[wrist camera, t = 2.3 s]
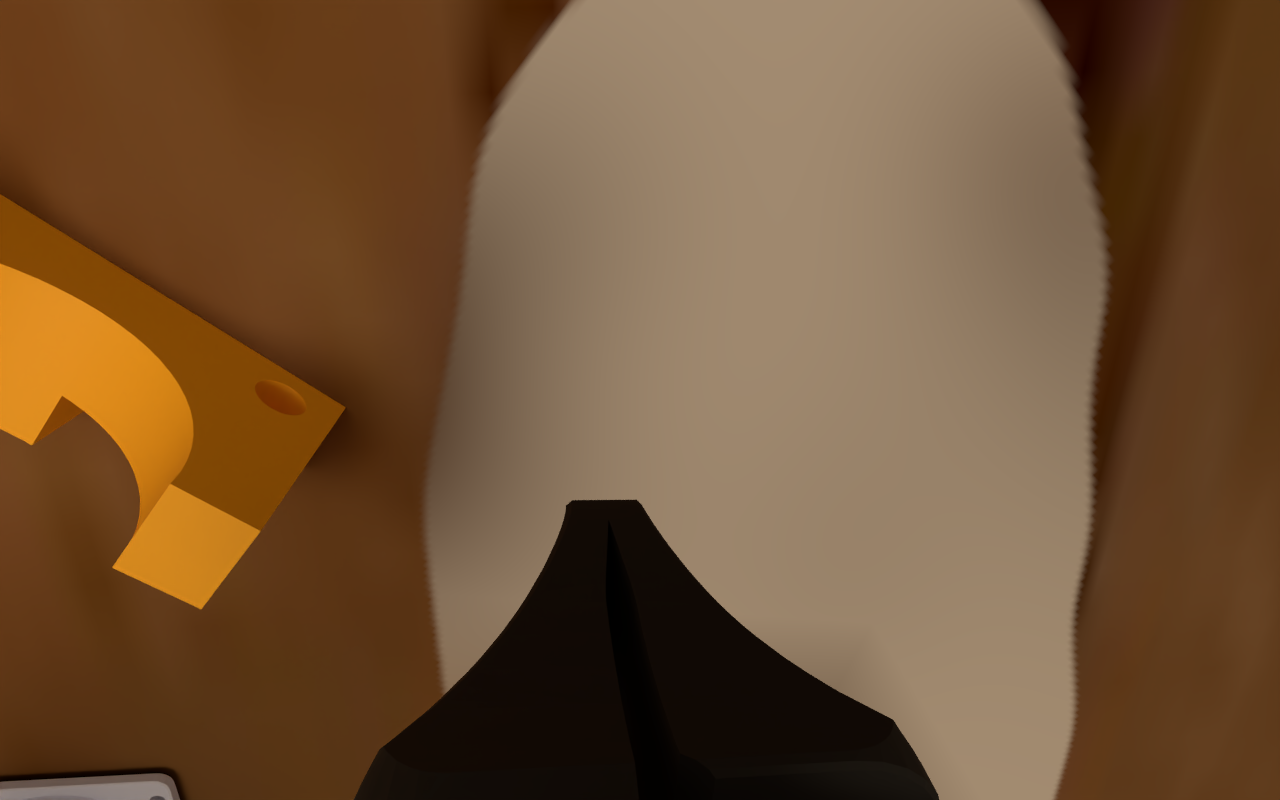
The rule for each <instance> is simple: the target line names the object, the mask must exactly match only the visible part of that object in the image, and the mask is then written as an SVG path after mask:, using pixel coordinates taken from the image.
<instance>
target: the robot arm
mask: <svg viewBox="0 0 1280 800" xmlns="http://www.w3.org/2000/svg"><path fill="white" fill-rule="evenodd" d="M0 800H180V798H179V795H178V792H177V789H176V786H175V783H174V781H173V779H172V778H171V777H170V776H168V775H166V774H162V773H152V774H134V775H115V776H96V777H78V778H59V779H41V780H22V781H3V782H0ZM354 800H939V797H938V794H937V792H936V790H935V788H934V786H933V785H932V783H931V781H930V779H929V777H928V775H927V773H926V771H925V769H924V768H923V766H922V764H921V762H920V761H919V759H918V757H917V756H916V754H915V752H914V751H913V749H912V748H911V746H910V745H909V743H908V742H907V740H906V739H905V737H904V736H903V734H902V733H901V731H900V730H899V728H898V727H897V725H896V724H895V722H894V720H892V719H891V718H889V717H887V716H885V715H883V714H881V713H879V712H877V711H875V710H873V709H871V708H869V707H867V706H865V705H863V704H862V703H860V702H858V701H856V700H854V699H852V698H850V697H848V696H846V695H844V694H842V693H840V692H838V691H837V690H835V689H833V688H832V687H830V686H828V685H826V684H825V683H823V682H822V681H820V680H818V679H817V678H815V677H814V676H812V675H810V674H809V673H807V672H805V671H804V670H802V669H801V668H799V667H798V666H796V665H795V664H793V663H792V662H790V661H789V660H787V659H786V658H784V657H783V656H781V655H780V654H779V653H777V652H776V651H775V650H774V649H772V648H771V647H769V646H768V645H767V644H766V643H764V642H763V641H761V640H760V639H759V638H757V637H756V636H755V635H754V634H752V633H751V632H750V631H749V630H748V629H746V628H745V627H744V626H743V625H742V624H740V623H739V622H738V621H737V620H736V619H735V618H734V617H733V616H731V615H730V614H729V613H728V612H727V611H726V610H725V609H724V608H723V607H722V606H721V605H720V604H719V603H718V602H717V601H716V600H715V599H714V598H713V597H712V596H711V595H710V594H709V593H708V592H707V591H706V590H705V589H704V587H703V586H702V585H701V584H700V583H699V582H698V581H697V580H696V579H695V577H694V576H693V575H692V574H691V573H690V572H689V570H688V569H687V568H686V567H685V565H683V563H682V562H681V561H680V559H679V558H678V557H677V555H676V554H675V553H674V552H673V550H672V549H671V548H670V547H669V545H668V544H667V542H666V541H665V540H664V538H663V537H662V535H661V534H660V533H659V531H658V530H657V528H656V527H655V526H654V524H653V522H652V521H651V519H650V518H649V516H648V515H647V513H646V511H645V510H644V508H643V507H642V505H641V504H640V503H639V502H638V501H637V500H575V501H574V500H573V501H571V502H570V503H569V504H568V505H566V513H565V517H564V521H563V524H562V527H561V530H560V532H559V535H558V538H557V540H556V543H555V545H554V547H553V549H552V551H551V554H550V555H549V558H548V560H547V562H546V564H545V566H544V568H543V570H542V572H541V573H540V575H539V577H538V578H537V580H536V582H535V583H534V585H533V587H532V589H531V590H530V592H529V594H528V595H527V597H526V599H525V600H524V602H523V603H522V605H521V606H520V608H519V609H518V611H517V612H516V614H515V615H514V616H513V618H512V619H511V621H510V622H509V623H508V625H507V626H506V627H505V629H504V630H503V631H502V633H501V634H500V635H499V636H498V638H497V639H496V640H495V641H494V642H493V644H492V645H491V646H490V647H489V648H488V650H487V651H486V652H485V653H484V655H483V656H482V657H481V658H480V659H479V660H478V662H476V664H475V665H474V666H473V667H472V668H471V669H470V670H469V671H468V672H467V673H466V674H465V675H464V676H463V677H462V678H461V679H460V680H459V681H458V682H457V683H456V684H455V685H454V686H453V687H452V688H451V689H450V690H449V691H448V692H447V693H446V694H445V695H444V696H443V697H442V698H441V699H440V700H439V701H438V702H437V703H435V704H434V705H433V706H432V707H431V708H430V709H429V710H428V711H427V712H425V713H424V714H423V715H422V716H421V717H419V718H418V719H417V720H416V721H414V722H413V723H412V724H411V725H409V726H408V727H407V728H406V729H405V730H403V731H402V732H401V733H400V734H398V735H397V736H396V737H395V738H394V739H392V740H391V741H390V742H389V743H387V744H386V745H385V746H383V747H382V748H381V749H380V750H379V751H378V753H377V755H376V757H375V759H374V760H373V762H372V764H371V766H370V768H369V770H368V772H367V774H366V776H365V777H364V779H363V782H362V784H361V786H360V788H359V790H358V792H357V794H356V796H355V798H354Z"/></svg>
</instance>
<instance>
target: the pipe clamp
mask: <svg viewBox="0 0 1280 800" xmlns="http://www.w3.org/2000/svg"><path fill="white" fill-rule="evenodd" d="M345 408H346V407H344V406H343V405H341V404H340V403H338V402H336V401H335V400H333V399H331V398H330V397H328V396H327V395H325V394H323V393H322V392H320V391H318V390H317V389H315V388H314V387H312V386H310V385H309V384H307V383H306V382H304V381H302V380H301V379H299V378H297V377H296V376H294V375H293V374H291V373H289V372H288V371H286V370H284V369H283V368H281V367H280V366H278V365H276V364H275V363H273V362H271V361H270V360H268V359H267V358H265V357H263V356H262V355H260V354H259V353H257V352H255V351H254V350H252V349H250V348H249V347H247V346H246V345H244V344H242V343H241V342H239V341H237V340H236V339H234V338H233V337H231V336H229V335H228V334H226V333H224V332H223V331H221V330H220V329H218V328H216V327H215V326H213V325H212V324H210V323H208V322H207V321H205V320H203V319H202V318H200V317H199V316H197V315H195V314H194V313H192V312H190V311H189V310H187V309H186V308H184V307H182V306H181V305H179V304H177V303H176V302H174V301H173V300H171V299H169V298H168V297H166V296H165V295H163V294H161V293H160V292H158V291H156V290H155V289H153V288H152V287H150V286H148V285H147V284H145V283H143V282H142V281H140V280H139V279H137V278H135V277H134V276H132V275H130V274H129V273H127V272H126V271H124V270H122V269H121V268H119V267H118V266H116V265H114V264H113V263H111V262H109V261H108V260H106V259H105V258H103V257H101V256H100V255H98V254H96V253H95V252H93V251H92V250H90V249H88V248H87V247H85V246H84V245H82V244H80V243H79V242H77V241H75V240H74V239H72V238H71V237H69V236H67V235H66V234H64V233H62V232H61V231H59V230H58V229H56V228H54V227H53V226H51V225H49V224H48V223H46V222H45V221H43V220H41V219H40V218H38V217H37V216H35V215H33V214H32V213H30V212H28V211H27V210H25V209H24V208H22V207H20V206H19V205H17V204H15V203H14V202H12V201H11V200H9V199H7V198H6V197H4V196H2V195H1V194H0V429H2V430H4V431H6V432H8V433H10V434H12V435H14V436H16V437H18V438H20V439H22V440H24V441H25V442H27V443H29V444H30V445H33V444H35V443H36V442H38V441H39V440H41V439H42V438H44V437H45V436H47V435H48V434H50V433H51V432H53V431H54V430H56V429H57V428H59V427H61V426H62V425H64V424H65V423H67V422H68V421H70V420H71V419H73V418H74V417H76V416H77V415H79V414H80V413H82V412H83V411H85V412H86V413H87V414H88V415H89V416H91V417H92V418H93V419H94V420H95V421H96V422H98V423H99V424H100V425H101V426H102V427H103V428H104V429H105V430H106V431H107V432H108V433H109V434H110V435H111V437H112V438H113V439H114V440H115V442H116V443H117V444H118V445H119V447H120V448H121V449H122V451H123V453H124V454H125V456H126V457H127V459H128V461H129V463H130V465H131V467H132V469H133V471H134V473H135V477H136V480H137V483H138V487H139V494H140V515H139V520H138V524H137V528H136V531H135V533H134V535H133V538H132V540H131V541H130V543H129V544H128V545H127V547H126V548H125V550H124V551H123V553H122V554H121V556H120V557H119V558H118V560H117V561H116V563H115V564H114V566H113V567H112V568H114V569H116V570H118V571H120V572H122V573H124V574H127V575H129V576H131V577H133V578H135V579H137V580H140V581H142V582H144V583H146V584H148V585H150V586H152V587H155V588H157V589H159V590H161V591H163V592H165V593H167V594H170V595H172V596H174V597H176V598H178V599H180V600H182V601H185V602H187V603H189V604H191V605H193V606H195V607H197V608H200V609H202V608H203V606H204V605H205V604H206V602H207V601H208V600H209V598H210V597H211V596H212V594H213V593H214V592H215V590H216V589H217V588H218V587H219V585H220V584H221V583H222V581H223V580H224V579H225V577H226V576H227V575H228V573H229V572H230V571H231V569H232V568H233V567H234V565H235V564H236V563H237V562H238V560H239V559H240V558H241V556H242V555H243V554H244V552H245V551H246V550H247V548H248V547H249V546H250V544H251V543H252V542H253V540H254V539H255V538H256V537H257V535H258V534H259V533H260V531H261V530H262V528H263V527H264V525H265V524H266V523H267V521H268V520H269V518H270V517H271V515H272V514H273V512H274V511H275V510H276V508H277V507H278V505H279V504H280V502H281V501H282V499H283V498H284V497H285V495H286V494H287V492H288V491H289V489H290V488H291V486H292V485H293V483H294V482H295V481H296V479H297V478H298V476H299V475H300V473H301V472H302V470H303V469H304V468H305V466H306V465H307V463H308V462H309V460H310V459H311V457H312V456H313V455H314V453H315V452H316V450H317V449H318V447H319V446H320V444H321V443H322V441H323V440H324V439H325V437H326V436H327V434H328V433H329V431H330V430H331V428H332V427H333V426H334V424H335V423H336V421H337V420H338V418H339V417H340V415H341V414H342V412H343V411H344V410H345Z"/></svg>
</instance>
